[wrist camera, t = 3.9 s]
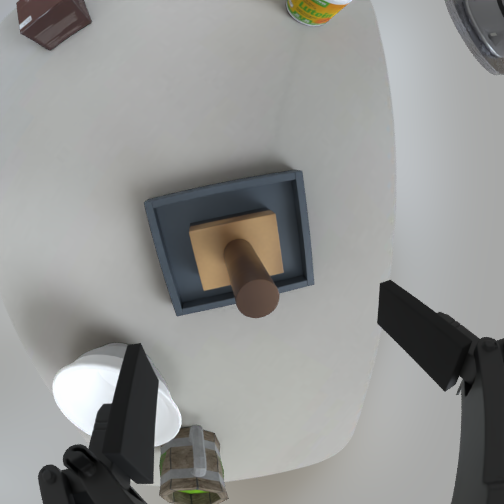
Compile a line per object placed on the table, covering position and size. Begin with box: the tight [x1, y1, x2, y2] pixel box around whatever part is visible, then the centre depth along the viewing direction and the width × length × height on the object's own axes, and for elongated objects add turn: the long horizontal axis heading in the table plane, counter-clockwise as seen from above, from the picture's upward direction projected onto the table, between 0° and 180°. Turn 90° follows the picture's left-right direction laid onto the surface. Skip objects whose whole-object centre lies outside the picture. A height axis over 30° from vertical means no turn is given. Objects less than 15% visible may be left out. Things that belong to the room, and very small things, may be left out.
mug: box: [159, 425, 228, 504], centre depth 34 cm, size 16×11×12 cm
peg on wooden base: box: [189, 207, 284, 318], centre depth 23 cm, size 8×6×12 cm
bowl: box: [52, 343, 182, 447], centre depth 28 cm, size 16×16×9 cm
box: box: [17, 0, 91, 50], centre depth 14 cm, size 6×6×7 cm
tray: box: [144, 170, 314, 316], centre depth 29 cm, size 16×13×2 cm
